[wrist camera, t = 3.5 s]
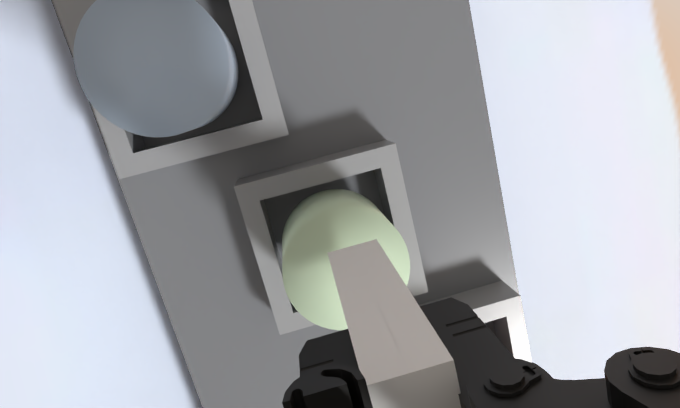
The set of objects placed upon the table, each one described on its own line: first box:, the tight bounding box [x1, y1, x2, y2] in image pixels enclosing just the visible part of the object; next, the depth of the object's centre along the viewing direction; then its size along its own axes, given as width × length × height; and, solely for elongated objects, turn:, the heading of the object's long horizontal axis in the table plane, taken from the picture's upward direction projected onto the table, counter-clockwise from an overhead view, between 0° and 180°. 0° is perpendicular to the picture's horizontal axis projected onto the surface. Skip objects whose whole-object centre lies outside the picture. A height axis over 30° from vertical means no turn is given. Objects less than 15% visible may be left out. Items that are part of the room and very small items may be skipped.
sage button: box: [282, 189, 410, 330], centre depth 18 cm, size 4×4×4 cm
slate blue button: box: [73, 0, 239, 137], centre depth 16 cm, size 4×4×4 cm
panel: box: [51, 0, 532, 408], centre depth 21 cm, size 16×30×4 cm, turn 14°
